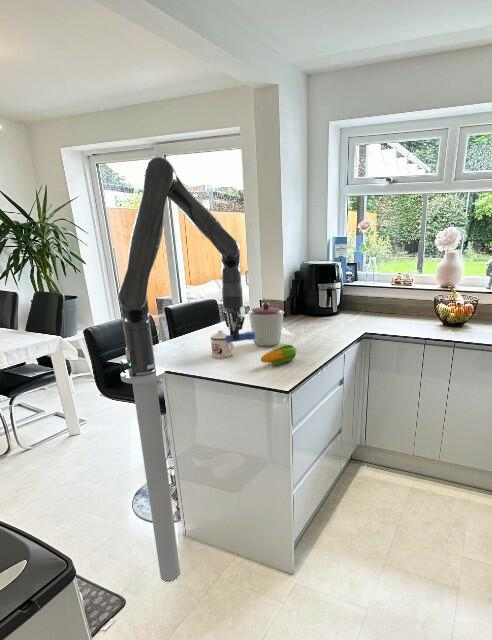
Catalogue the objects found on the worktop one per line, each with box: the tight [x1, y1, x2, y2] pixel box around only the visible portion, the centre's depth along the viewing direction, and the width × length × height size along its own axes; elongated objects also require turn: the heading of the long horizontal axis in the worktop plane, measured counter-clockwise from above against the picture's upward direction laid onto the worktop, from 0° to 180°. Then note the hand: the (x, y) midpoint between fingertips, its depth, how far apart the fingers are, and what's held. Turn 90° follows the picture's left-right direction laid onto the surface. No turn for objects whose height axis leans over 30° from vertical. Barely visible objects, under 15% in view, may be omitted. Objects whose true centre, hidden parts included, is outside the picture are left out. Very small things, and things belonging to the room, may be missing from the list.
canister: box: [247, 301, 285, 347], centre depth 199 cm, size 18×18×21 cm
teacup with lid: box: [210, 329, 235, 359], centre depth 178 cm, size 12×9×12 cm
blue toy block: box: [226, 331, 255, 343], centre depth 157 cm, size 12×4×2 cm, turn 128°
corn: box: [260, 343, 298, 366], centre depth 169 cm, size 7×8×20 cm
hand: (234, 339), depth 155 cm, fingers closed on blue toy block, 2 cm apart
